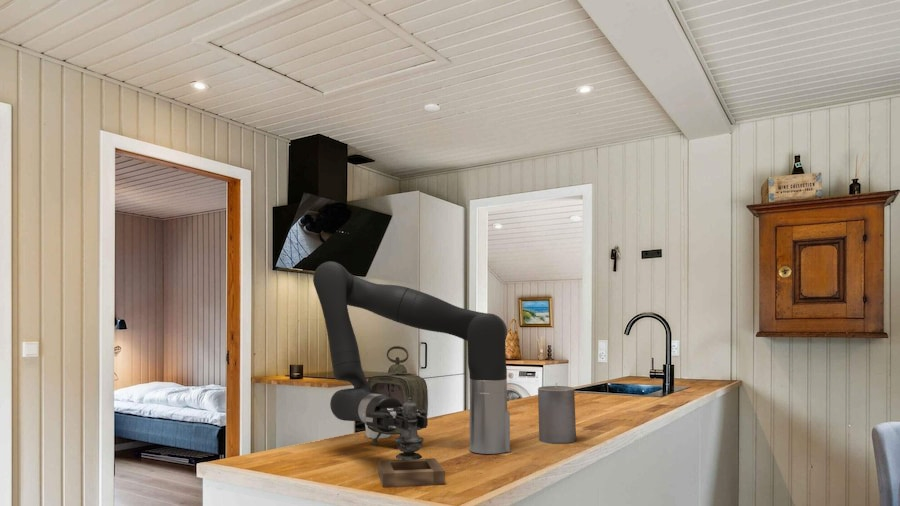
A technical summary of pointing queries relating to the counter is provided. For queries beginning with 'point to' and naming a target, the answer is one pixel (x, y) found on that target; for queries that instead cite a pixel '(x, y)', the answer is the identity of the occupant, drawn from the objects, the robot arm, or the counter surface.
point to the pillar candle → (556, 414)
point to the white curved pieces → (374, 434)
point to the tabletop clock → (400, 389)
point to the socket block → (411, 472)
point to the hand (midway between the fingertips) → (415, 423)
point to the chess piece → (409, 434)
